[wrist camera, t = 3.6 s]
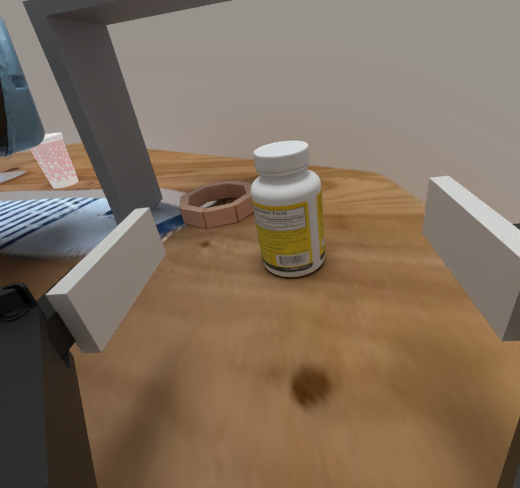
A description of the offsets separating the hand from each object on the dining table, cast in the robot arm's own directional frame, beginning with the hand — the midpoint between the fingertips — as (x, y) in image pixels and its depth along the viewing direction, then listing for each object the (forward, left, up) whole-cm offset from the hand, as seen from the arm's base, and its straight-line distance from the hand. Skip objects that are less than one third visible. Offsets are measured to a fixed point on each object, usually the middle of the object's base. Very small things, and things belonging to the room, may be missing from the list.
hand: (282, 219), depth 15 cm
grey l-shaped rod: (-20, +14, -9) cm, 26 cm away
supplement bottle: (-5, +8, -9) cm, 13 cm away
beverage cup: (-59, +13, -9) cm, 61 cm away
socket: (-19, +14, -9) cm, 25 cm away
